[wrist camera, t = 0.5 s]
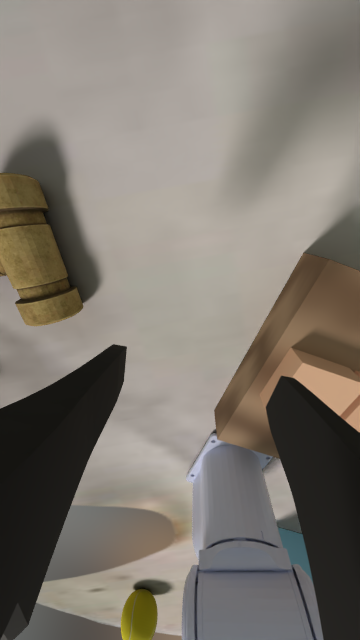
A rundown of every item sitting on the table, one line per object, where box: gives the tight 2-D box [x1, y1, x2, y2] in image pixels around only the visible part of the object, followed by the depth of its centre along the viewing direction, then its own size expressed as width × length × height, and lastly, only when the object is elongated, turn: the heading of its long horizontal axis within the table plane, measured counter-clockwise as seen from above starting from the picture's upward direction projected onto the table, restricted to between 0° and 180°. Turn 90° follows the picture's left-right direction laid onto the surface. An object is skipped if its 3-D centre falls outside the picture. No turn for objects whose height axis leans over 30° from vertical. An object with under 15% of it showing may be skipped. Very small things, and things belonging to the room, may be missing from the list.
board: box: [214, 253, 360, 459], centre depth 19 cm, size 18×12×4 cm, turn 161°
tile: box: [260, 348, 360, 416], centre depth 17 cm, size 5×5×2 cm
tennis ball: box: [121, 589, 157, 640], centre depth 43 cm, size 7×7×7 cm
